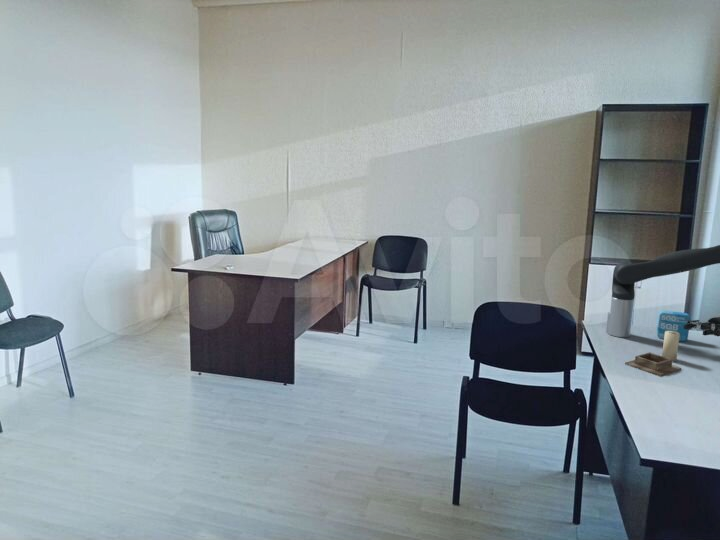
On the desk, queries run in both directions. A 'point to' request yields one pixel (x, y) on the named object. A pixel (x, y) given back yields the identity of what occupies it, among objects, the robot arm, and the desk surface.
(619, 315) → the robot arm
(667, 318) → the data package
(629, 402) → the desk surface
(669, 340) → the paper roll
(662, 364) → the roll stand
